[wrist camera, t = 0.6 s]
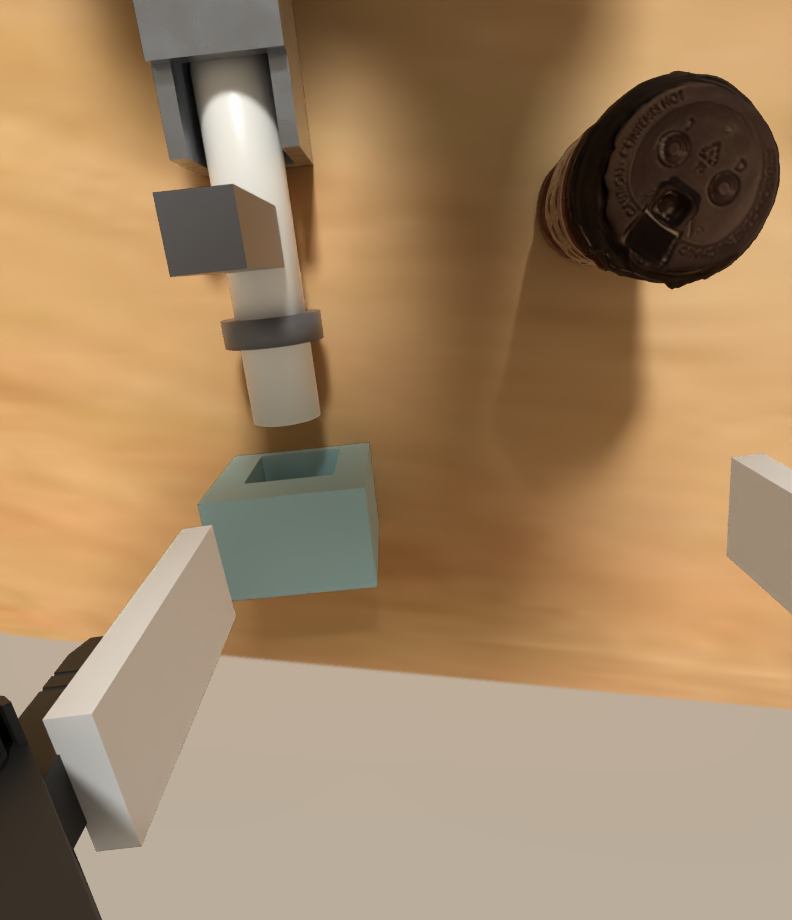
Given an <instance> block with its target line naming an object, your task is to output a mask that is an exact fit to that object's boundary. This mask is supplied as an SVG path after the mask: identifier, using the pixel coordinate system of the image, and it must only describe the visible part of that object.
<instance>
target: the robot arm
mask: <svg viewBox="0 0 792 920" xmlns="http://www.w3.org/2000/svg"><path fill="white" fill-rule="evenodd" d="M727 557H729V558H730V559H731V560H732V561H733V562H734V563H735V564H736V565H737V566H739V567H740V568H741V569H742V570H743V571H744V572H745V573H746V574H747V575H749V576H750V577H751V578H752V579H753V580H754V581H755V582H756V583H757V584H759V585H760V586H761V587H762V588H763V589H764V590H765V591H766V592H767V593H769V594H770V595H771V596H772V597H773V598H774V599H775V600H776V601H777V602H779V603H780V604H781V605H782V606H783V607H784V608H785V609H786V610H787V611H789V612H790V613H791V614H792V469H791V468H789V467H787V466H785V465H783V464H782V463H780V462H778V461H776V460H774V459H772V458H770V457H769V456H767V455H765V454H763V453H761V454H753V455H746V456H738V457H731V476H730V496H729V516H728V536H727ZM235 618H236V616H235V612H234V608H233V604H232V600H231V596H230V592H229V589H228V585H227V581H226V577H225V573H224V569H223V565H222V562H221V558H220V554H219V550H218V546H217V542H216V538H215V535H214V531H213V527H212V525H208V526H200V527H193V528H185V529H182V530H181V532H180V533H179V534H178V536H177V537H176V538H175V540H174V541H173V542H172V544H171V545H170V547H169V548H168V549H167V551H166V552H165V553H164V555H163V556H162V557H161V559H160V560H159V562H158V563H157V564H156V566H155V567H154V568H153V570H152V571H151V572H150V574H149V575H148V577H147V578H146V579H145V581H144V582H143V583H142V585H141V586H140V587H139V589H138V590H137V592H136V593H135V594H134V596H133V597H132V598H131V600H130V601H129V602H128V604H127V605H126V607H125V608H124V609H123V611H122V612H121V613H120V615H119V616H118V617H117V619H116V620H115V622H114V623H113V624H112V626H111V627H110V628H109V630H108V631H107V632H106V634H105V635H104V636H101V637H93V638H90V639H88V640H87V641H86V642H85V643H83V644H82V645H81V646H79V647H78V648H77V649H75V650H74V651H73V652H72V653H70V654H69V655H68V656H67V657H66V659H65V660H64V661H63V663H62V664H61V665H60V666H59V668H58V669H57V670H56V671H55V673H54V674H55V675H54V676H52V677H51V678H50V679H49V680H48V682H47V683H46V684H45V685H44V687H43V691H42V692H39V693H38V694H37V696H36V697H35V698H34V700H33V701H32V702H31V703H30V705H29V706H28V707H27V708H26V710H25V711H24V712H23V713H22V715H21V716H20V717H19V718H17V715H16V713H15V710H14V708H13V706H12V703H11V702H10V701H9V700H8V699H7V698H6V697H5V696H0V920H102V919H101V916H100V914H99V911H98V908H97V906H96V903H95V901H94V899H93V896H92V893H91V891H90V888H89V886H88V883H87V881H86V878H85V876H84V873H83V871H82V868H81V866H80V863H79V861H78V859H77V856H76V854H75V852H74V847H75V845H76V843H77V841H78V839H79V837H80V835H81V834H82V832H83V830H84V828H85V826H86V827H87V830H88V832H89V835H90V837H91V840H92V842H93V845H94V847H95V850H96V851H105V850H114V849H123V848H132V847H141V846H142V844H143V841H144V839H145V836H146V834H147V831H148V829H149V827H150V824H151V822H152V819H153V817H154V815H155V812H156V810H157V807H158V805H159V802H160V800H161V797H162V795H163V793H164V790H165V787H166V785H167V783H168V781H169V778H170V776H171V773H172V771H173V768H174V766H175V764H176V761H177V759H178V756H179V754H180V751H181V749H182V747H183V744H184V742H185V739H186V737H187V734H188V732H189V729H190V727H191V725H192V722H193V720H194V717H195V715H196V713H197V710H198V708H199V705H200V703H201V700H202V698H203V696H204V693H205V691H206V688H207V686H208V684H209V681H210V678H211V676H212V674H213V671H214V669H215V667H216V664H217V662H218V659H219V657H220V654H221V652H222V650H223V647H224V645H225V642H226V640H227V637H228V635H229V633H230V630H231V628H232V625H233V623H234V620H235Z"/></svg>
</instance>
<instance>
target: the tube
mask: <svg viewBox="0 0 792 920" xmlns="http://www.w3.org/2000/svg"><path fill="white" fill-rule="evenodd" d="M189 67H190V72H191V78H192V83H193V89H194V94H195V100H196V106H197V111H198V117H199V122H200V128H201V133H202V139H203V144H204V150H205V156H206V161H207V167H208V172H209V178H210V183H211V186H207V187H198V188H189V189H180V190H171V191H162V192H153V197H154V202H155V207H156V211H157V216H158V221H159V226H160V231H161V235H162V240H163V245H164V250H165V255H166V259H167V264H168V269H169V274H170V277H176V276H192V275H209V274H226V273H227V278H228V283H229V289H230V294H231V300H232V306H233V311H234V317H235V318H233V319H228V320H224V321H221V327H222V332H223V338H224V343H225V348H226V350H232V351H241V356H242V361H243V367H244V372H245V378H246V383H247V389H248V394H249V400H250V405H251V411H252V417H253V422H254V424H255V425H257V426H261V427H280V426H289V425H295V424H300V423H304V422H307V421H310V420H313V419H315V418H317V417H319V416H320V415H321V412H320V405H319V398H318V391H317V384H316V377H315V370H314V363H313V356H312V349H311V342H312V341H316V340H319V339H321V338H323V337H324V336H323V328H322V321H321V314H320V310H306V308H305V301H304V294H303V287H302V280H301V273H300V266H299V259H298V252H297V245H296V238H295V231H294V224H293V217H292V210H291V203H290V197H289V190H288V183H287V176H286V169H285V162H284V155H283V149H282V148H281V143H280V136H279V129H278V122H277V115H276V108H275V101H274V94H273V87H272V80H271V73H270V66H269V59H268V54H259V55H250V56H241V57H232V58H224V59H215V60H206V61H197V62H189Z"/></svg>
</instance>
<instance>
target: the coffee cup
mask: <svg viewBox="0 0 792 920" xmlns="http://www.w3.org/2000/svg"><path fill="white" fill-rule="evenodd" d="M779 182H780V164H779V151H778V147H777V144H776V142H775V140H774V137H773V134H772V132H771V130H770V128H769V126H768V124H767V123H766V122H765V121H764V119H763V117H762V116H761V114H760V113H759V112H758V110H757V109H756V108H755V106H754V105H753V104H752V102H751V101H750V100H749V99H748V98H747V97H746V96H745V95H744V94H742V93H741V92H740V91H739V90H738V89H737V88H736V87H735V86H733V85H732V84H730V83H729V82H728V81H726V80H724V79H722V78H719V77H717V76H712V75H708V74H693V73H689V72H683V71H674V72H671V73H670V74H666V75H662V76H659V77H656V78H652V79H650V80H647V81H645V82H642V83H640V84H638V85H637V86H636V87H634V88H633V89H631V90H630V91H628V92H627V93H626V94H625V95H623V96H622V97H621V98H620V99H618V100H617V101H616V102H615V103H614V104H612V105H611V106H610V107H609V108H608V109H607V110H606V111H605V113H604V114H603V115H602V116H601V117H600V118H599V120H598V121H597V122H596V123H595V124H594V125H592V126H591V127H589V128H588V129H587V130H586V131H585V132H584V133H583V134H582V135H581V136H580V138H578V139H577V140H576V141H575V142H573V144H571V145H570V146H569V148H568V149H567V150H566V151H565V153H564V155H563V156H562V158H561V159H560V161H559V162H558V163H557V164H556V165H555V167H554V168H553V169H552V170H551V171H550V172H549V173H548V175H547V176H546V178H545V180H544V182H543V184H542V187H541V190H540V193H539V199H538V214H537V215H538V223H539V226H540V228H541V231H542V233H543V235H544V237H545V239H546V240H547V242H548V243H549V245H550V246H551V247H552V248H553V249H554V250H556V251H557V252H558V253H559V254H560V255H561V256H562V257H563V258H565V259H566V260H572V261H575V262H577V263H580V264H581V265H589V264H590V265H593V266H595V267H598V268H599V269H601V270H604V271H612V272H614V273H616V274H617V275H619V276H625V277H629V278H633V279H639V280H645V281H648V282H653V283H665V284H666V285H667V287H669V288H670V289H674V288H680V287H682V286H684V285H686V284H688V283H692V282H695V281H698V280H700V279H704V280H705V279H707V278H709V277H710V276H712V275H714V274H715V273H718V272H720V271H722V270H724V269H725V268H727V267H729V266H730V265H731V264H732V263H733V262H734V261H735V260H737V259H738V258H739V257H740V256H741V255H742V254H743V253H744V252H745V251H746V250H747V249H748V248H749V246H751V244H752V242H753V241H754V240H755V239H756V238H757V236H758V234H759V233H760V231H761V230H762V228H763V226H764V223H765V221H766V219H767V217H768V216H769V214H770V211H771V209H772V207H773V205H774V202H775V199H776V195H777V191H778V187H779Z"/></svg>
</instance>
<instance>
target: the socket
mask: <svg viewBox="0 0 792 920" xmlns="http://www.w3.org/2000/svg"><path fill="white" fill-rule="evenodd" d="M198 509H199V513H200V518H201V522H202V526H208V525H212V527H213V531H214V535H215V538H216V542H217V546H218V550H219V554H220V558H221V562H222V565H223V569H224V573H225V577H226V581H227V585H228V589H229V592H230V596H231V600H232V601H238V600H248V599H259V598H269V597H279V596H289V595H300V594H310V593H320V592H330V591H341V590H351V589H361V588H371V587H377V584H378V548H379V519H378V511H377V503H376V494H375V486H374V478H373V469H372V461H371V453H370V444H369V443H360V444H350V445H340V446H331V447H321V448H311V449H301V450H291V451H281V452H272V453H262V454H252V455H242V456H235V457H234V459H233V460H232V461H231V462H230V464H229V465H228V466H227V467H226V469H225V470H224V471H223V473H222V474H221V475H220V476H219V478H218V479H217V480H216V481H215V483H214V484H213V485H212V487H211V488H210V489H209V490H208V492H207V493H206V494H205V495H204V497H203V498H202V499H201V501H200V502H199V503H198Z"/></svg>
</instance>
